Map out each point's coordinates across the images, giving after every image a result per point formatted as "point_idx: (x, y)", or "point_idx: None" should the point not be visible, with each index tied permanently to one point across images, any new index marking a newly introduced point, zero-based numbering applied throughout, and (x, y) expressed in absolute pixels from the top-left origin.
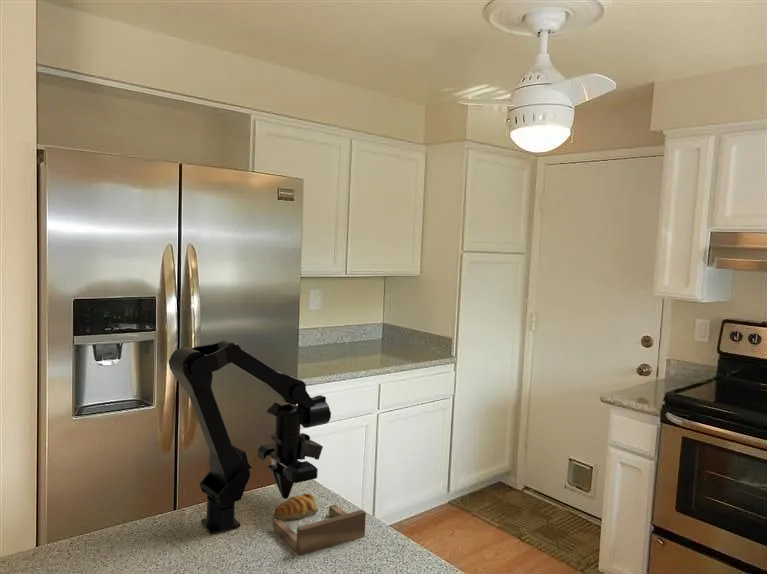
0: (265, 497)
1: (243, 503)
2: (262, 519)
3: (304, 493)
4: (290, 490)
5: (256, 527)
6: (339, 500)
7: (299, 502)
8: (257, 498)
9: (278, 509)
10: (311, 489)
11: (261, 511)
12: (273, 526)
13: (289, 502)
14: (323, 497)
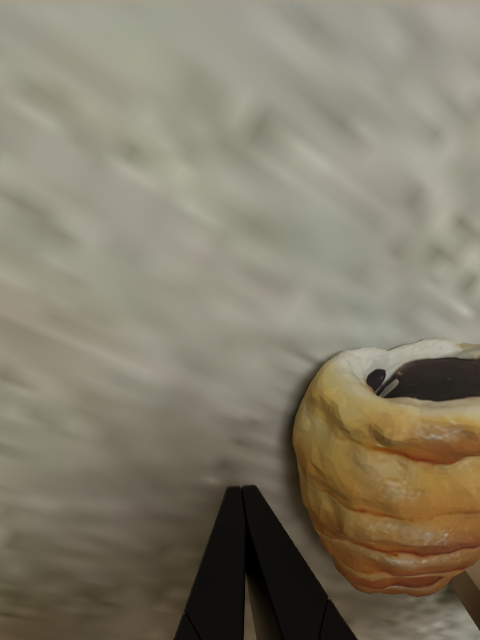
0: (70, 516)
1: (103, 618)
2: (330, 591)
3: (399, 441)
4: (293, 544)
5: (380, 623)
6: (440, 26)
7: None
8: (66, 554)
9: (393, 592)
10: (55, 140)
11: None
12: (466, 604)
13: (425, 567)
14: (289, 140)
